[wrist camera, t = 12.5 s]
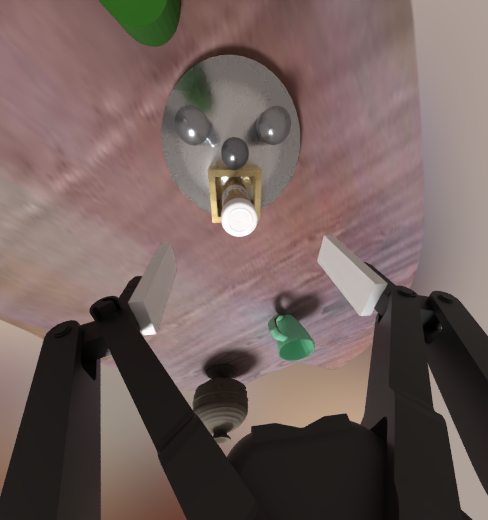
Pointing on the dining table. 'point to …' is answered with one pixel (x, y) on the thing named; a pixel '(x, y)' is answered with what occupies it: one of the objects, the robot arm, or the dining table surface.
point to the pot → (221, 402)
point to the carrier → (230, 132)
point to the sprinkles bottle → (237, 210)
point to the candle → (146, 18)
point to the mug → (291, 338)
